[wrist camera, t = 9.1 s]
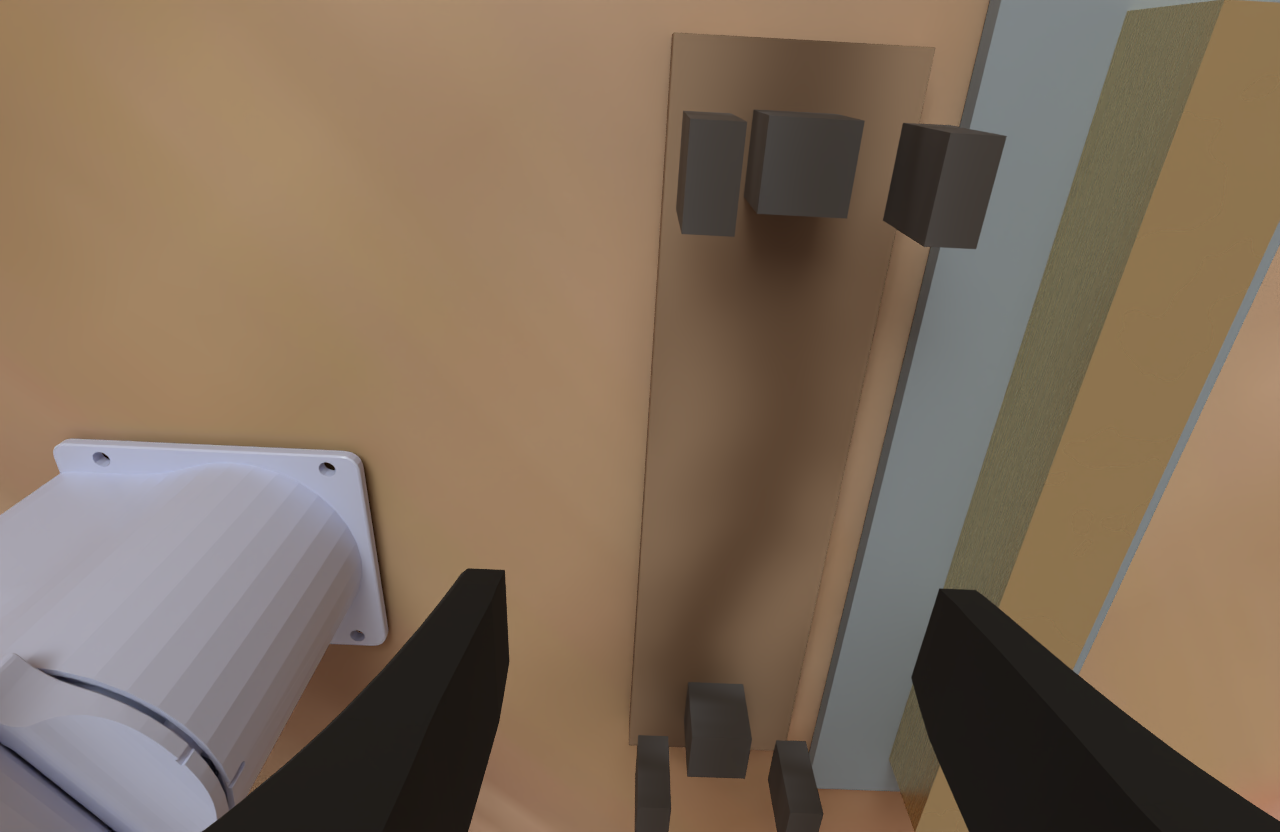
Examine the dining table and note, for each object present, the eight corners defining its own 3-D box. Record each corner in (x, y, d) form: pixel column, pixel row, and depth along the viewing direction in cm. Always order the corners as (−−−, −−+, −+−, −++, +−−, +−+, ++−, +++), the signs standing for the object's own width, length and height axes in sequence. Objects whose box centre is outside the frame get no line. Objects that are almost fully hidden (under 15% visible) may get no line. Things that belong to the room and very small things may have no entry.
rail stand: (629, 718, 28) (626, 875, 22) (672, 34, 17) (686, 19, 11) (778, 724, 28) (811, 882, 22) (916, 48, 17) (1045, 40, 11)
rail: (888, 758, 28) (914, 832, 25) (1127, 10, 16) (1224, -1, 13) (962, 761, 28) (996, 835, 25) (1253, 18, 16) (1377, 7, 13)
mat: (803, 774, 29) (806, 788, 28) (1013, -98, 16) (1027, -105, 15) (1014, 782, 29) (1021, 795, 29) (1404, -75, 16) (1431, -80, 15)
